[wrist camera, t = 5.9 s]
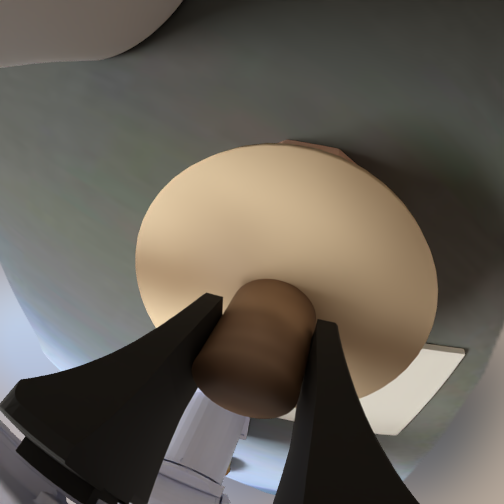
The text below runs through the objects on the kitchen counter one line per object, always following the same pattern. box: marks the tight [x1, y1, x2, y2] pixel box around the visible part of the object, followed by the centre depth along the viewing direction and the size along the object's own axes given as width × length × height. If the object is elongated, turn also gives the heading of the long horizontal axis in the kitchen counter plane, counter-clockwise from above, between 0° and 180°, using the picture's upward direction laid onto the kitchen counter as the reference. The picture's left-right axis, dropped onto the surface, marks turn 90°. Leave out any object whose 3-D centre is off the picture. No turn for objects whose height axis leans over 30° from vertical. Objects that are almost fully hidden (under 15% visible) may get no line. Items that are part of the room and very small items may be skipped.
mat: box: [277, 343, 465, 435], centre depth 22 cm, size 13×13×1 cm
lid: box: [136, 143, 438, 419], centre depth 10 cm, size 12×12×4 cm
